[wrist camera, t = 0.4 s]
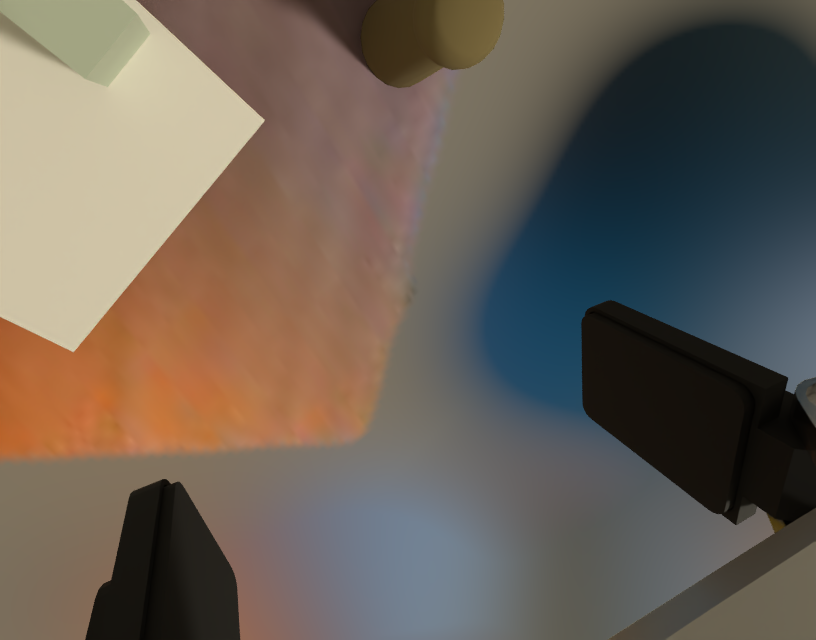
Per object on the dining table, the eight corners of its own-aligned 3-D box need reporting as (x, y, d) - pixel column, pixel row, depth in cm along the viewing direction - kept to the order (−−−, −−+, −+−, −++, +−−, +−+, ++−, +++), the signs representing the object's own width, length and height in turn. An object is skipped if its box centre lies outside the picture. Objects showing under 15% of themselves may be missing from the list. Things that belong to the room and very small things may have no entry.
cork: (389, 104, 35) (455, 97, 26) (344, 23, 32) (400, -18, 22) (450, 58, 35) (537, 35, 26) (411, -26, 32) (494, -87, 23)
